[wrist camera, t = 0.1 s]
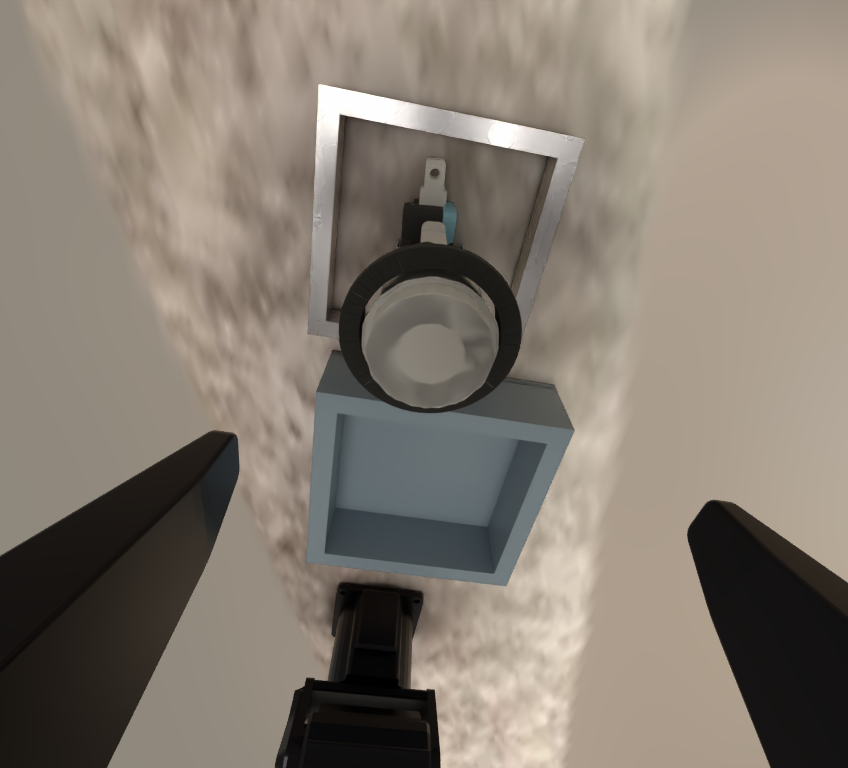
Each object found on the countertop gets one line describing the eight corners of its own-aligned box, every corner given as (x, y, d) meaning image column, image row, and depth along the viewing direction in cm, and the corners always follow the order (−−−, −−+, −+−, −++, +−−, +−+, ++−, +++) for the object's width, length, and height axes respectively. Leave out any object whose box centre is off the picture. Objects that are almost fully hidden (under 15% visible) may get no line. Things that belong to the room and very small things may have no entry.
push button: (373, 151, 19) (327, 189, 10) (501, 162, 19) (561, 209, 10) (370, 302, 22) (334, 426, 14) (478, 311, 22) (509, 438, 14)
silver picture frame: (507, 352, 24) (512, 366, 22) (314, 320, 23) (307, 333, 21) (574, 136, 18) (585, 139, 17) (326, 85, 18) (318, 83, 16)
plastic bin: (497, 532, 31) (506, 586, 27) (320, 510, 30) (305, 562, 26) (554, 385, 25) (574, 430, 21) (332, 350, 24) (316, 391, 20)
